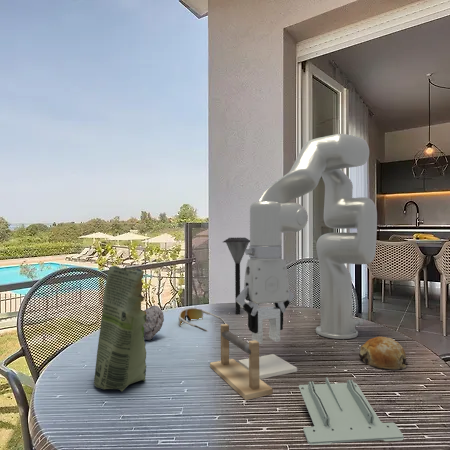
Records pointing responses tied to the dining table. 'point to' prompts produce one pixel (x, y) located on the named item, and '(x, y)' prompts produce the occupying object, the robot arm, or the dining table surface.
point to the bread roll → (383, 353)
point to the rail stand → (240, 367)
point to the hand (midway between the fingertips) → (265, 329)
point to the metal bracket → (343, 415)
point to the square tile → (270, 366)
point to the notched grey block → (274, 323)
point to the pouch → (121, 331)
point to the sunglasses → (194, 316)
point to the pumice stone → (153, 322)
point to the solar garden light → (237, 261)
